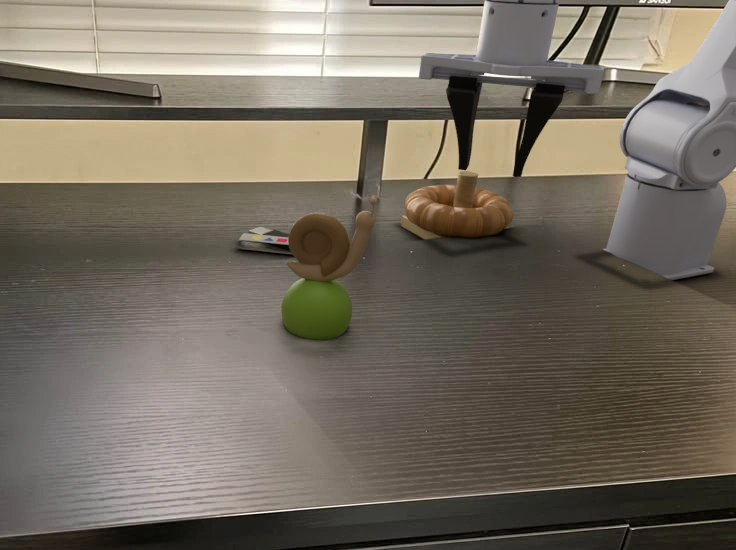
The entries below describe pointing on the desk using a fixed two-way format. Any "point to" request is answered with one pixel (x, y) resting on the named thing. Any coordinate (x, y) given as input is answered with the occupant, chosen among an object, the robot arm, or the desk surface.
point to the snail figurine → (323, 273)
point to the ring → (457, 212)
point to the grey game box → (265, 241)
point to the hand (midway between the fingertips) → (490, 170)
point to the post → (462, 199)
